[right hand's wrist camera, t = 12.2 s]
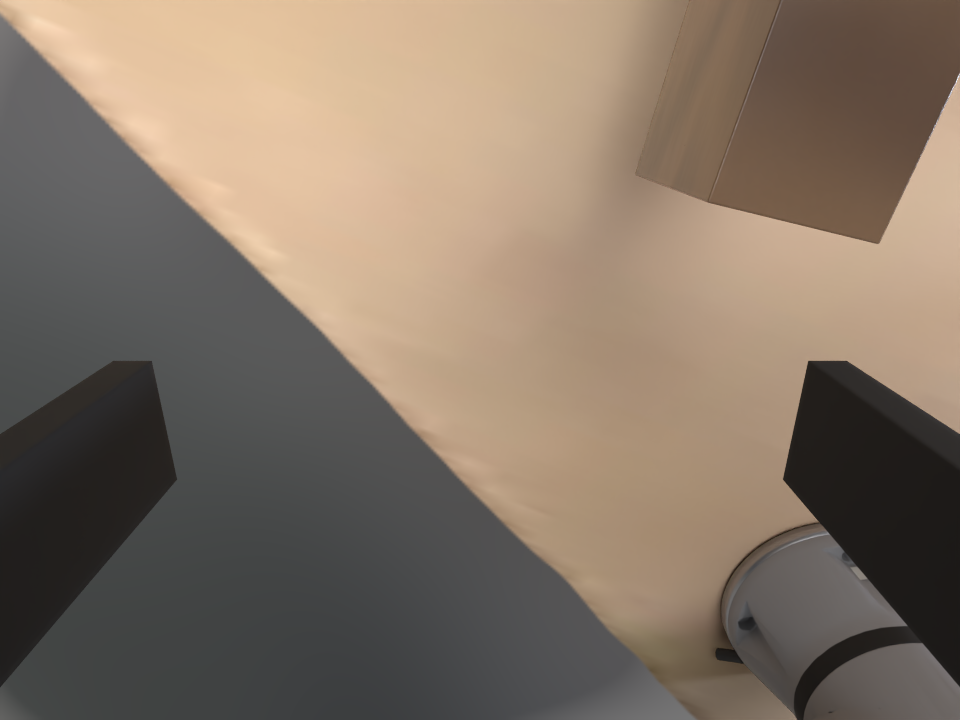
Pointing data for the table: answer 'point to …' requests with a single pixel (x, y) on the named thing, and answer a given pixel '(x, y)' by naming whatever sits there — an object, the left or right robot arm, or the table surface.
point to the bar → (804, 106)
